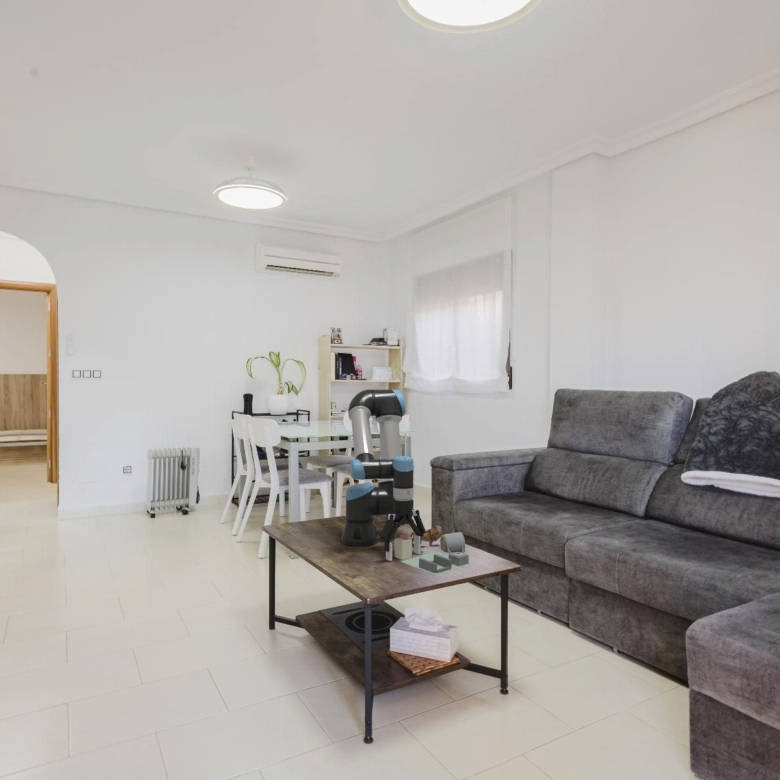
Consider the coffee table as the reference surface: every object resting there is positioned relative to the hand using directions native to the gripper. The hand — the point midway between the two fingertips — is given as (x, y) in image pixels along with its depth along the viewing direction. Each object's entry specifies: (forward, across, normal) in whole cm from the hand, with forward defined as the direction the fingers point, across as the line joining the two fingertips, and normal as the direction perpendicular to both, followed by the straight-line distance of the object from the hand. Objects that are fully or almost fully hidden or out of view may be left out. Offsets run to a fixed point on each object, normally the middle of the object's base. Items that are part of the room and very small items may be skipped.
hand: (403, 556), depth 205 cm
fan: (0, +11, -17) cm, 21 cm away
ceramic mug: (+2, +21, -6) cm, 22 cm away
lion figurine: (+2, +18, +7) cm, 19 cm away
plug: (+2, 0, 0) cm, 2 cm away
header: (0, +1, -16) cm, 16 cm away
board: (+2, +5, -12) cm, 13 cm away
